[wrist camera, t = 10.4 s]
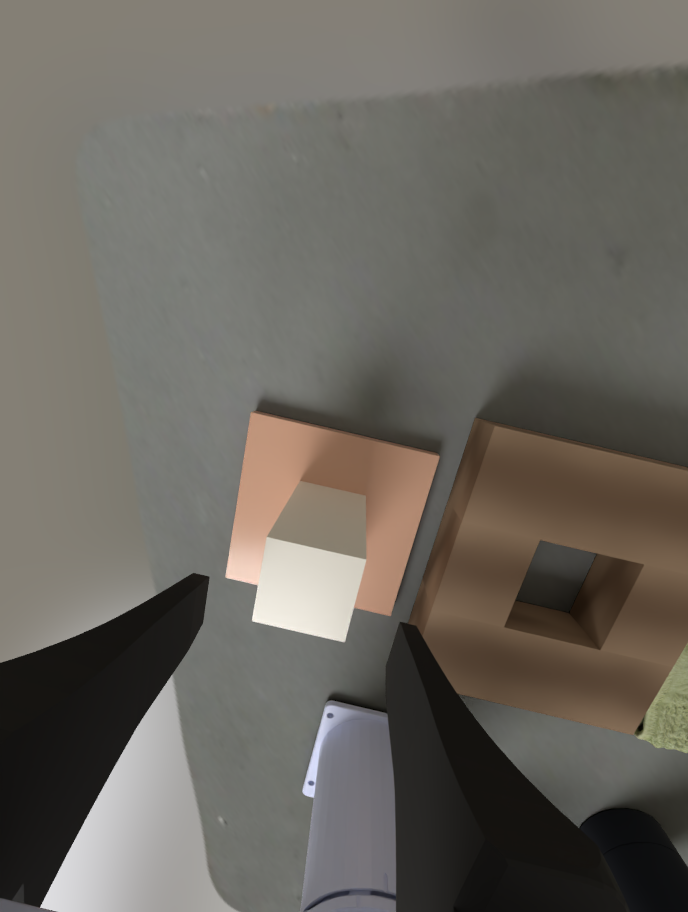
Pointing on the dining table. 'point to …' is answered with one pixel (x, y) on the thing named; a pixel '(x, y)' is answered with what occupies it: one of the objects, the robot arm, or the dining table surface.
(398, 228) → the dining table surface
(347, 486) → the tile
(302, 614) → the plug
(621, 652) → the brown board with hole
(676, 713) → the washcloth
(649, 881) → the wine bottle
